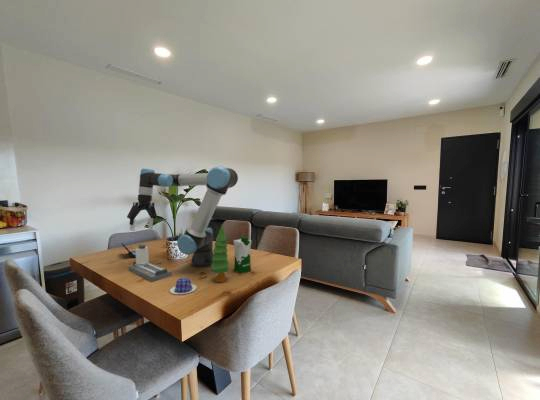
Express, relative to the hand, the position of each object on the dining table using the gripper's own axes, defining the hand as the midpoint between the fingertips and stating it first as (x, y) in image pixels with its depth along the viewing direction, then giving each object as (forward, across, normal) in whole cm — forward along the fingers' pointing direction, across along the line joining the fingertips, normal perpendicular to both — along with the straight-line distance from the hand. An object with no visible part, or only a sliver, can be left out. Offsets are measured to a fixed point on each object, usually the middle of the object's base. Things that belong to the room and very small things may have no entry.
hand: (141, 229), depth 149 cm
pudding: (+22, +17, +46) cm, 54 cm away
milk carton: (+17, -16, +62) cm, 66 cm away
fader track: (+22, +5, +14) cm, 27 cm away
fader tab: (+20, +2, +5) cm, 21 cm away
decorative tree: (+19, +1, +57) cm, 60 cm away
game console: (+24, -20, -24) cm, 40 cm away
